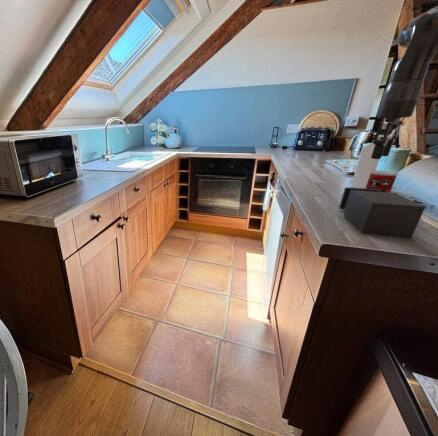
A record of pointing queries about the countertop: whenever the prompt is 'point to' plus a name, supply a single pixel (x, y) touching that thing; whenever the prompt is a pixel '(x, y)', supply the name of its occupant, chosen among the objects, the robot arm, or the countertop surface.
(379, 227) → the dark grey box
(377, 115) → the robot arm
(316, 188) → the countertop surface
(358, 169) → the milk
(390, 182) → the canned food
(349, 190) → the black angled strip
